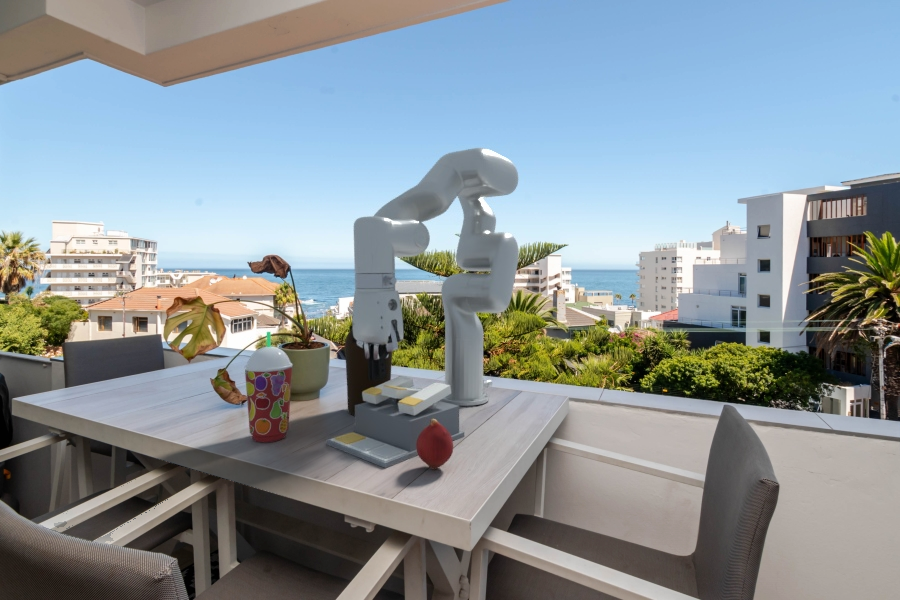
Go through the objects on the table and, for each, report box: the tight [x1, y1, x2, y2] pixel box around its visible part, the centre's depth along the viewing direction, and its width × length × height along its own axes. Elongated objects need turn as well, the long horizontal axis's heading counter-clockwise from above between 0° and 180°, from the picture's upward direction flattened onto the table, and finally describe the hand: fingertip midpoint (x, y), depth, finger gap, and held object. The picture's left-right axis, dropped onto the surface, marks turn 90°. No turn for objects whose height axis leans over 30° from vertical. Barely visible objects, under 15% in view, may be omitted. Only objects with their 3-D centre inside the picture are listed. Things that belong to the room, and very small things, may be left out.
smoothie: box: [244, 331, 293, 443], centre depth 86 cm, size 8×8×20 cm
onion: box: [416, 419, 454, 470], centre depth 72 cm, size 6×6×8 cm
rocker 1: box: [362, 375, 415, 404], centre depth 90 cm, size 10×4×3 cm, turn 140°
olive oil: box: [344, 327, 393, 416], centre depth 104 cm, size 11×11×25 cm
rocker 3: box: [398, 381, 451, 416], centre depth 84 cm, size 10×4×3 cm, turn 140°
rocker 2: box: [381, 385, 423, 401], centre depth 87 cm, size 10×4×3 cm, turn 140°
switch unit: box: [325, 398, 465, 469], centre depth 85 cm, size 20×16×7 cm
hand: (377, 378), depth 88 cm, fingers closed
